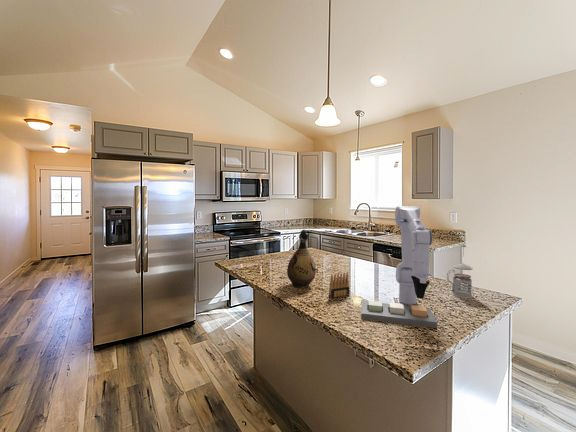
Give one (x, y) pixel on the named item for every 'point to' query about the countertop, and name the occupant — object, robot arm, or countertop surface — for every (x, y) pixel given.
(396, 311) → the white key
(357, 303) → the countertop surface
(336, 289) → the ammunition clip
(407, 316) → the keypad
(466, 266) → the french press
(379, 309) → the sage key
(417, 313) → the orange key
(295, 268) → the ceramic jug
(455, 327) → the countertop surface
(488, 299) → the countertop surface
